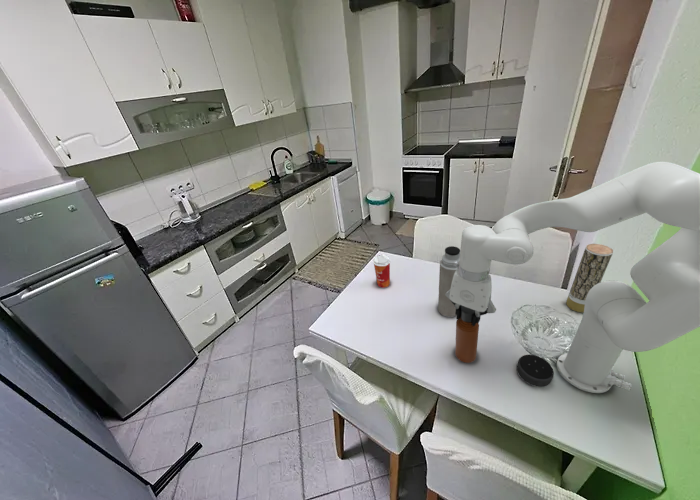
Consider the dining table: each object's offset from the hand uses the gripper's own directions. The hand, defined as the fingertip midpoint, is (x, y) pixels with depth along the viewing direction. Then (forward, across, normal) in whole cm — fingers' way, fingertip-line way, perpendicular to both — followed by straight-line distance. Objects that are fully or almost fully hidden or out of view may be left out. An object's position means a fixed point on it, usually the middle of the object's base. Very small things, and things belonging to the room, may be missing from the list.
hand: (467, 319), depth 83 cm
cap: (-1, 0, 0) cm, 1 cm away
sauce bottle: (+16, +1, 0) cm, 16 cm away
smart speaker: (+16, +19, +4) cm, 25 cm away
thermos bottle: (+16, -12, +17) cm, 26 cm away
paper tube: (+16, +26, +42) cm, 52 cm away
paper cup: (+16, -43, +18) cm, 49 cm away
